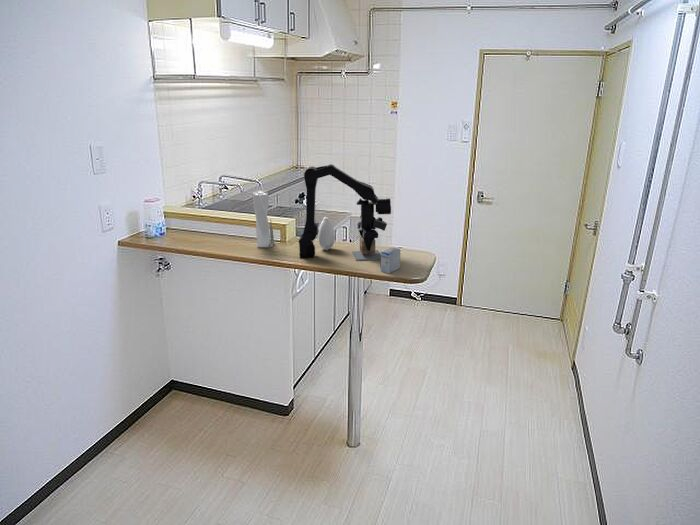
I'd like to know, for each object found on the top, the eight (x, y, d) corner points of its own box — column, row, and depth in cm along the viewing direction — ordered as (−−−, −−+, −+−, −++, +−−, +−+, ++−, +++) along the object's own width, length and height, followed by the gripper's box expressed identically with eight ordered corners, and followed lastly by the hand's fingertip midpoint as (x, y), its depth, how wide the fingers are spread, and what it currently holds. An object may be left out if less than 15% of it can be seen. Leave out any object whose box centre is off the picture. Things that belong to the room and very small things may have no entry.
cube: (362, 254, 222) (362, 241, 220) (359, 249, 228) (359, 237, 226) (375, 253, 223) (375, 240, 221) (372, 249, 228) (372, 236, 226)
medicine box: (391, 266, 212) (391, 246, 209) (400, 268, 209) (400, 248, 207) (380, 271, 206) (380, 251, 204) (389, 273, 204) (389, 253, 201)
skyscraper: (271, 248, 238) (267, 190, 229) (254, 248, 238) (250, 190, 229) (274, 243, 246) (270, 186, 237) (258, 243, 246) (253, 186, 237)
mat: (356, 260, 219) (356, 259, 219) (352, 252, 231) (352, 251, 230) (383, 259, 221) (383, 258, 221) (377, 251, 232) (377, 249, 232)
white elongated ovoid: (333, 252, 231) (332, 214, 225) (316, 251, 233) (315, 213, 227) (336, 247, 238) (336, 210, 233) (320, 246, 240) (319, 209, 234)
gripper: (390, 218, 212) (389, 253, 217) (381, 208, 229) (380, 241, 234) (364, 219, 210) (364, 255, 215) (357, 209, 228) (357, 242, 233)
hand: (367, 248), depth 225 cm, fingers closed on cube, 6 cm apart
